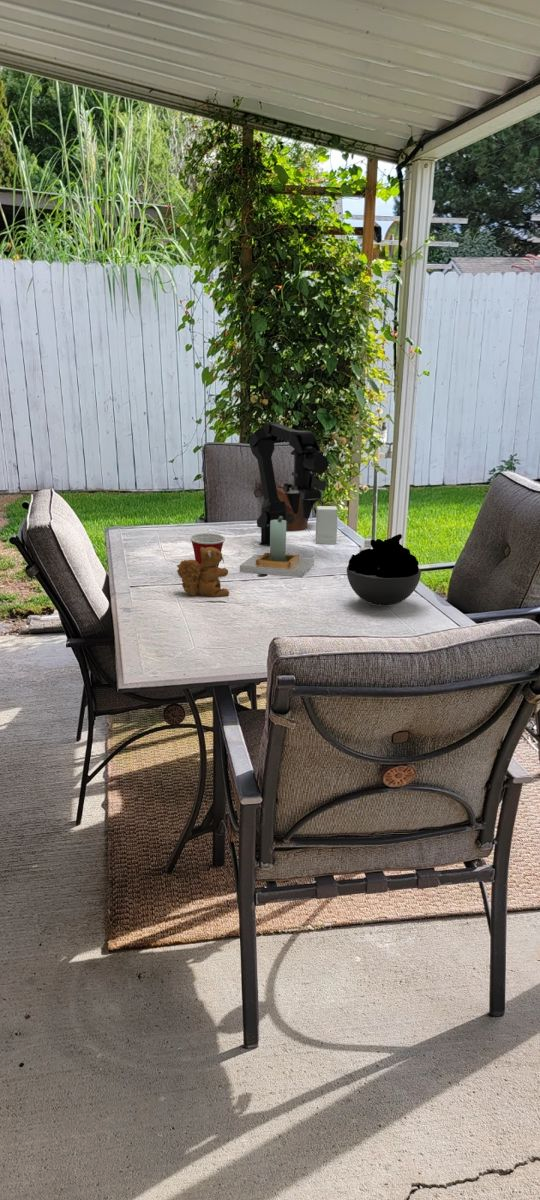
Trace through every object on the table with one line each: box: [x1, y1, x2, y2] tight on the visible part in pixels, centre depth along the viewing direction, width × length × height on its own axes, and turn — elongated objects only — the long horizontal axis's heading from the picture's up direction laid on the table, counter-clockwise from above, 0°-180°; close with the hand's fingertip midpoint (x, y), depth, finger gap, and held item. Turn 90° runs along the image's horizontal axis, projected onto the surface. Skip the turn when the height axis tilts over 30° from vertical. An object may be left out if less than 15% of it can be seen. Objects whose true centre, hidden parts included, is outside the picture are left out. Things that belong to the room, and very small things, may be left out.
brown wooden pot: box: [276, 481, 309, 531], centre depth 336 cm, size 18×20×18 cm
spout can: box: [269, 516, 287, 562], centre depth 273 cm, size 5×5×15 cm
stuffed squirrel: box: [176, 547, 230, 598], centre depth 244 cm, size 10×14×13 cm
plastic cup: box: [189, 532, 226, 568], centre depth 264 cm, size 11×11×12 cm
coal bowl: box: [346, 533, 422, 607], centre depth 235 cm, size 20×20×19 cm
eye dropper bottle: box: [358, 534, 373, 553], centre depth 270 cm, size 4×6×12 cm
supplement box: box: [315, 505, 339, 545], centre depth 313 cm, size 7×7×13 cm
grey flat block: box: [239, 552, 315, 578], centre depth 275 cm, size 20×16×4 cm
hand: (301, 516), depth 291 cm, fingers open, 9 cm apart
